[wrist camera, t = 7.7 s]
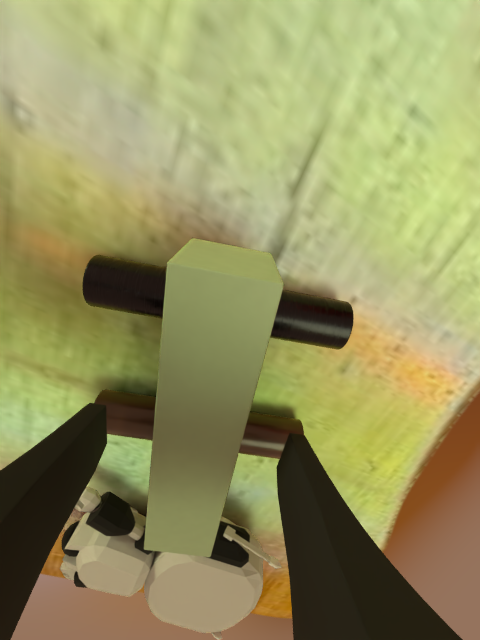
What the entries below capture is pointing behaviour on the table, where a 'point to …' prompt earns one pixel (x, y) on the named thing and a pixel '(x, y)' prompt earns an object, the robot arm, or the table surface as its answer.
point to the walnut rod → (139, 412)
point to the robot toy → (164, 566)
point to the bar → (205, 386)
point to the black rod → (149, 290)
